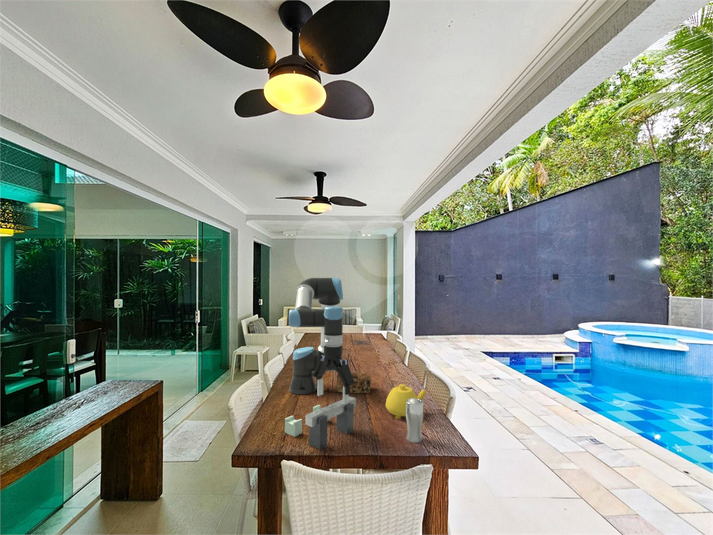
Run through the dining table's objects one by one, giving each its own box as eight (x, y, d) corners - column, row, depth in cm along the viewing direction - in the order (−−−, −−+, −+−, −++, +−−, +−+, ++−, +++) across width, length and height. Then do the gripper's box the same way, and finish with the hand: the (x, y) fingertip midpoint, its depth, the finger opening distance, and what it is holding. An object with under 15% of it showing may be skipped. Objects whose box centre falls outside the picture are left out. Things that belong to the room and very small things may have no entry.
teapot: (420, 406, 174) (420, 378, 174) (433, 419, 158) (433, 388, 159) (381, 409, 170) (381, 380, 170) (391, 422, 154) (391, 391, 155)
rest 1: (284, 432, 144) (284, 418, 144) (292, 429, 147) (292, 415, 147) (294, 436, 140) (294, 422, 140) (302, 433, 143) (302, 419, 143)
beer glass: (403, 435, 142) (404, 398, 143) (420, 434, 143) (420, 397, 143) (407, 443, 135) (408, 404, 136) (425, 443, 136) (425, 404, 136)
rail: (305, 424, 130) (305, 415, 131) (349, 404, 151) (349, 396, 151) (312, 427, 128) (312, 417, 128) (355, 406, 149) (355, 398, 149)
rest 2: (312, 420, 156) (312, 407, 156) (318, 417, 159) (319, 404, 159) (322, 423, 152) (322, 410, 152) (328, 420, 156) (328, 407, 156)
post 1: (308, 444, 133) (309, 415, 134) (316, 441, 137) (316, 412, 137) (319, 449, 130) (320, 419, 130) (327, 445, 133) (327, 415, 133)
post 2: (336, 430, 146) (336, 403, 146) (342, 427, 149) (343, 400, 149) (347, 434, 142) (347, 406, 143) (353, 431, 146) (353, 404, 146)
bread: (336, 393, 192) (336, 375, 192) (337, 387, 202) (338, 369, 203) (370, 394, 192) (370, 375, 192) (370, 387, 202) (370, 370, 202)
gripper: (304, 342, 145) (303, 394, 144) (351, 350, 130) (350, 408, 129) (317, 340, 151) (316, 390, 150) (363, 347, 135) (363, 403, 135)
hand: (332, 398), depth 139 cm, fingers open, 13 cm apart
